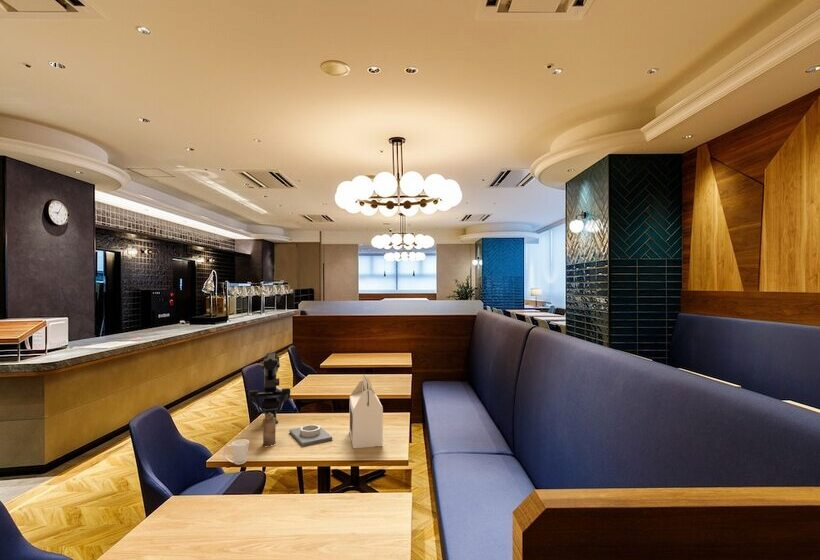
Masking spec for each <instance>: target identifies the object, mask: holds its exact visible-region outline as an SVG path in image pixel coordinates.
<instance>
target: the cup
mask: <svg viewBox="0 0 820 560" xmlns="http://www.w3.org/2000/svg"><path fill="white" fill-rule="evenodd" d="M249 447H250V441H249V439H244V438H243V439H236V440H234V441H231V443H230V444H227V445H226V446H225V447H224V449H223V452H222V456H223V458H224V459H225V460H227V461H229V463H231V464H234V465H239V466H240V465H243V464H245V463H246V462H247V461H246V460H247V456H248V452H249ZM227 448H231V451H232V456H233V460H234V461H233V460H231V459H230V458H228V457H227V456H226V454H225V453H226V449H227Z"/></svg>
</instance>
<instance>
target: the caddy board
mask: <svg viewBox="0 0 820 560" xmlns="http://www.w3.org/2000/svg"><path fill="white" fill-rule="evenodd" d="M288 431H289V432H290V433H291V434H290V433H289V434H290V435H291V436H292V437H293V438H294V439H295V440H296V441H297V442H298V443H299V444H300V446H301V447H308V446H310V445H316V444H320V443H326V442H331V441H333V436H332V435H331V434H330V433H328V432H327V431H326V430H324V428H322V427H321V425H318V424H305V425H303V426H300V427H297V428H292V429H289V430H288Z"/></svg>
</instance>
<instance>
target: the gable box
mask: <svg viewBox="0 0 820 560" xmlns="http://www.w3.org/2000/svg"><path fill="white" fill-rule="evenodd" d="M362 378H363V379H362V380H361V381H359V382H358V384H357V385H356V387H355V388H354V390H353V391H352V392H351V394H350V395H349V435H350V439H351V445H352V448H353V449H363V448H365V449H366V448H376V447H375V446H378V447H383V446H384V444H383V442H384V439H383V437H384V436H383V435H384V431H383V430H384V426H383V425H384V424H383V422H384V421H383V420H384V418H383V417H384V407H383V405H382V403H381V401H380V399H379V397H378V396H377V394H376V392H375V391H374V389H373V387H372V384H371V381H370V379H369V378H368V377H366V376H365V374H364V375H363V377H362ZM382 445H383V446H382Z"/></svg>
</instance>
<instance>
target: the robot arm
mask: <svg viewBox="0 0 820 560" xmlns="http://www.w3.org/2000/svg"><path fill="white" fill-rule="evenodd" d="M280 366H281V364H280V357H279V356H278V355H277V353H276V352H268V353H266V355H265V357H264V358H263V362H262V367H261V368H262V370H263V373H264V379H263V392H259V390H257V389H256V390H250V391H249V392H248V400H249V402H250V403H253V404H254V405H255V407H256V409H257V411H258V413H260V412H261V413H264V416H265V415H267V414H268V413H271V414H274V418H276V422H275V424H278V423H279V421H278V420H277V412H279V411H281V410H282V407H283V405H284V403H285V402H286V401H288V400H290V399H291V389H290V387H285V388H284V387H283V388H281V391H277V387H278V386H280V378H277V373H278V372H279V368H280ZM278 397H280V399H279V398H278ZM259 398H263V399H262V401H261V408H260V400H259ZM260 409H261V410H260Z"/></svg>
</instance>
